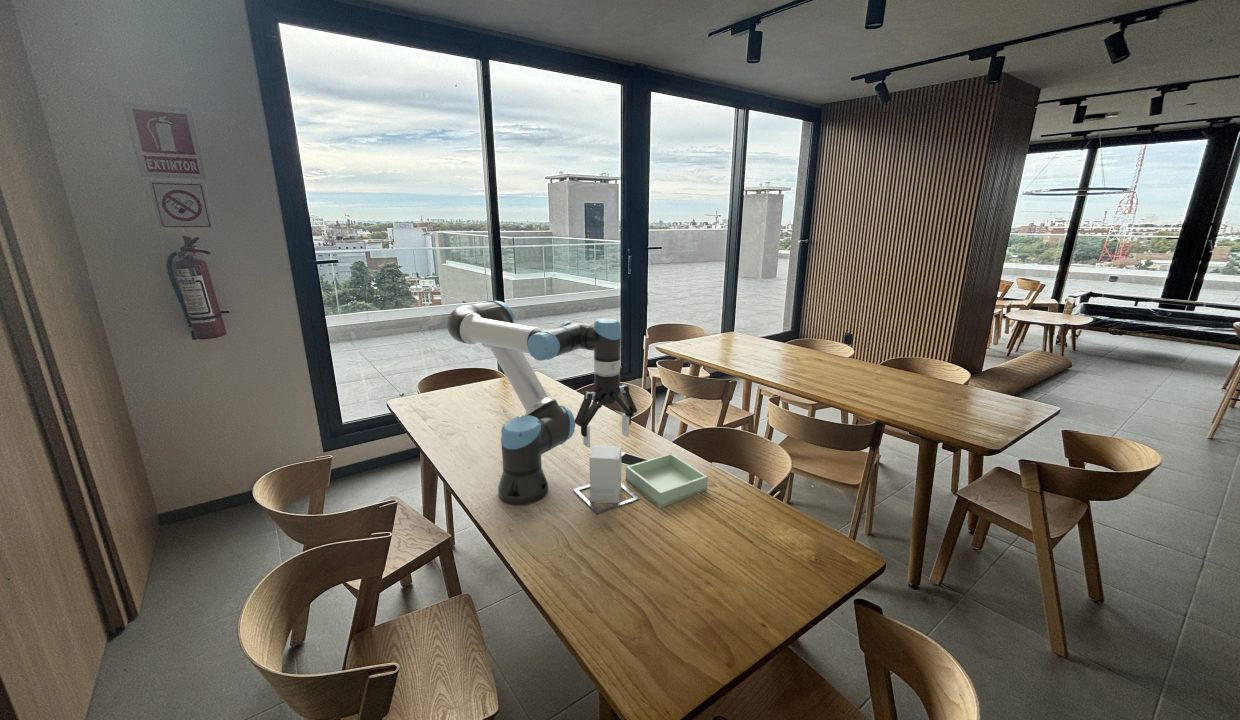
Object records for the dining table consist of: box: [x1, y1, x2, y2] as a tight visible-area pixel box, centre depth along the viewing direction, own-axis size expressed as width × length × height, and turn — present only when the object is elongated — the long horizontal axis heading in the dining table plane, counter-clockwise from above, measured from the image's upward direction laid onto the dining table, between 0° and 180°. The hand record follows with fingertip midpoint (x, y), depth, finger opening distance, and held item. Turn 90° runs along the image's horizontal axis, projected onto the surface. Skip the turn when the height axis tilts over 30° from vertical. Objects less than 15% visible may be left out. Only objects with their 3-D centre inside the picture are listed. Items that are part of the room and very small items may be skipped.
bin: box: [625, 452, 709, 509], centre depth 158 cm, size 19×19×5 cm
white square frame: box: [573, 482, 640, 515], centre depth 152 cm, size 15×15×1 cm
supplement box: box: [588, 444, 622, 504], centre depth 150 cm, size 9×9×15 cm
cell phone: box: [621, 451, 650, 467], centre depth 173 cm, size 8×16×1 cm, turn 59°
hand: (606, 440), depth 147 cm, fingers open, 13 cm apart
